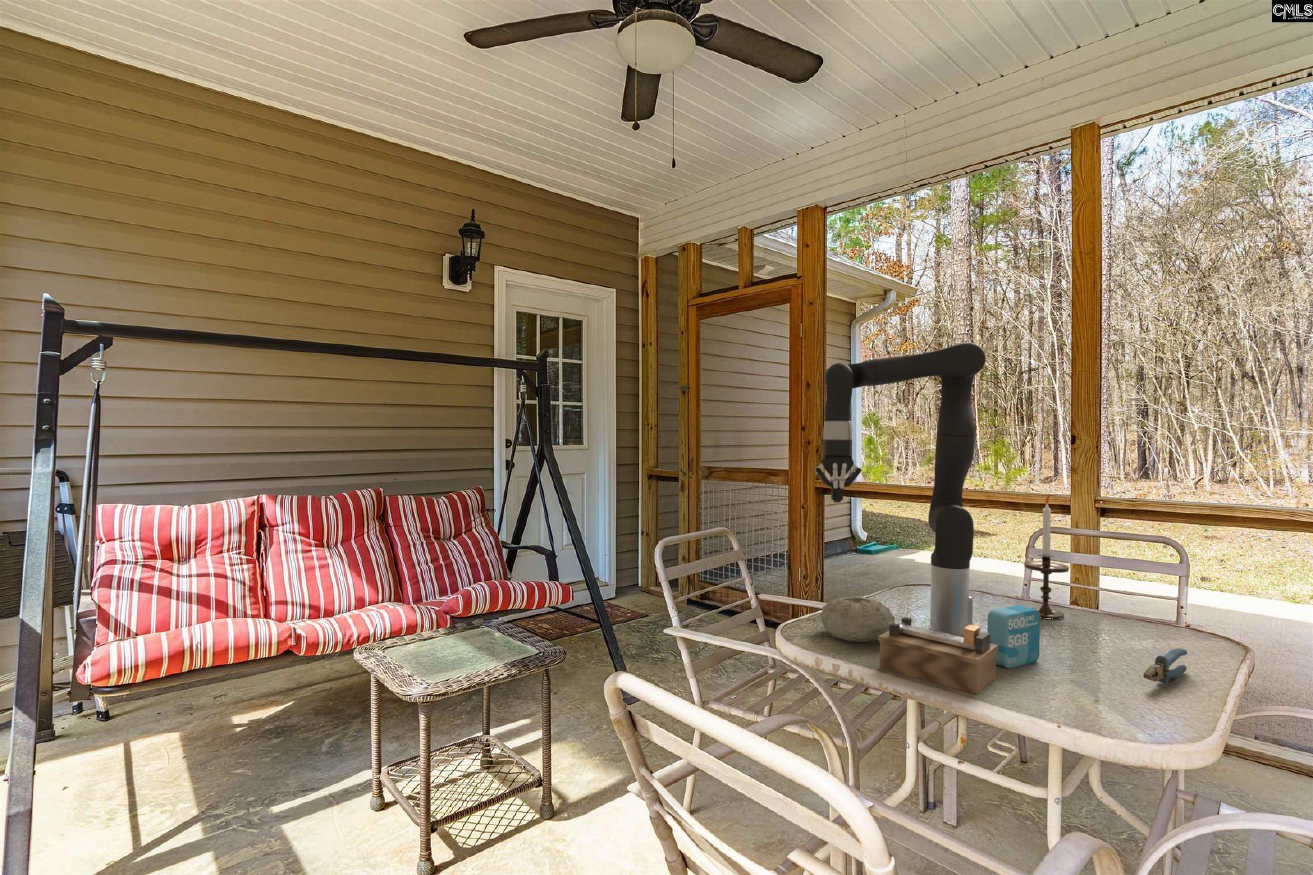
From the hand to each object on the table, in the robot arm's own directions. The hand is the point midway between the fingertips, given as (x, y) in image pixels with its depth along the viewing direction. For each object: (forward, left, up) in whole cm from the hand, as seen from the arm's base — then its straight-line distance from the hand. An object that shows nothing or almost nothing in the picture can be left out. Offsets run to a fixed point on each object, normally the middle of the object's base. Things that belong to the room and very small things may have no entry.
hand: (837, 502), depth 170 cm
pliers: (-58, +39, -33) cm, 77 cm away
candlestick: (-63, -9, -33) cm, 72 cm away
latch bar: (-11, +34, -26) cm, 44 cm away
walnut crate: (-12, +34, -33) cm, 49 cm away
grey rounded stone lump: (-2, +11, -33) cm, 35 cm away
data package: (-32, +28, -33) cm, 54 cm away
